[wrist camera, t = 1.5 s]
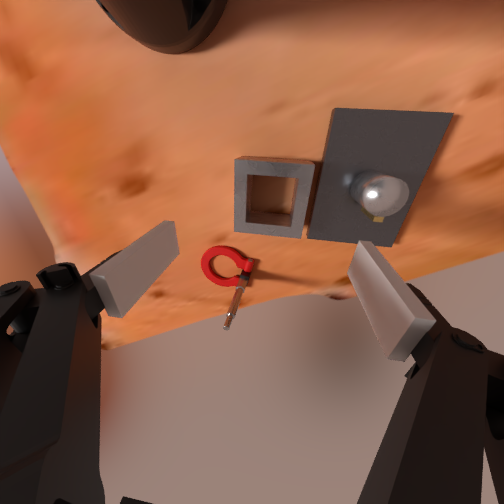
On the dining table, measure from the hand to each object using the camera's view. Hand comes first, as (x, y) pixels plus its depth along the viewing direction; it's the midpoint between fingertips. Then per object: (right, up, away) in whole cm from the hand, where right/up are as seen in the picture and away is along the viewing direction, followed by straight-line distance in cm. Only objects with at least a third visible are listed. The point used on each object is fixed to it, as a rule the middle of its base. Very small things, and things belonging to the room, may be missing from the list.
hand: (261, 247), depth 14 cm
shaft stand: (+14, +9, +12) cm, 20 cm away
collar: (+2, +8, +14) cm, 17 cm away
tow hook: (-5, -3, +22) cm, 23 cm away
